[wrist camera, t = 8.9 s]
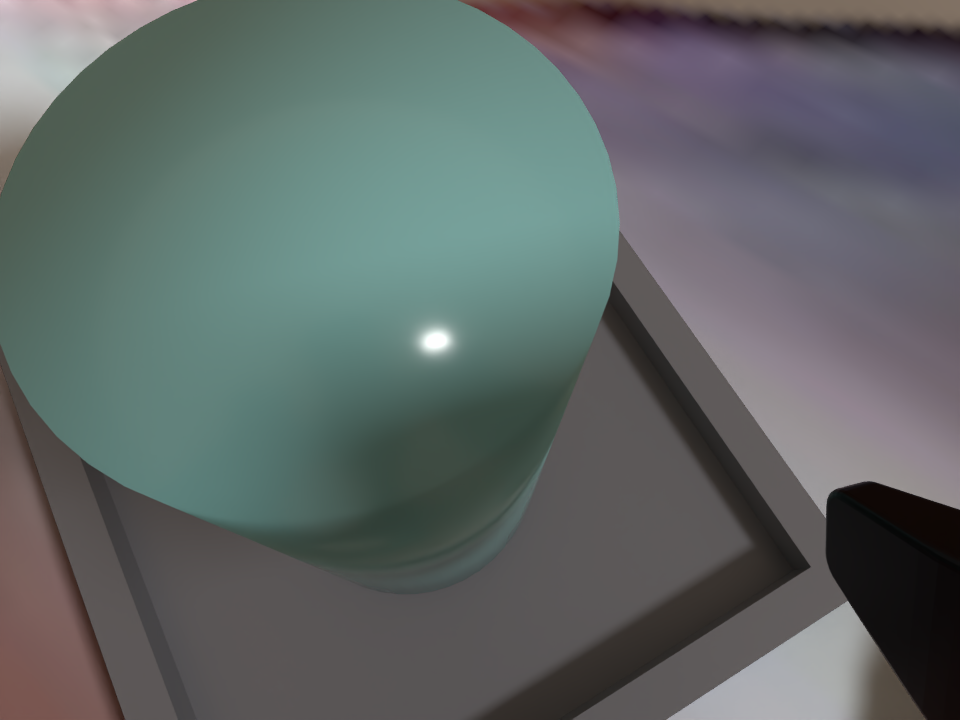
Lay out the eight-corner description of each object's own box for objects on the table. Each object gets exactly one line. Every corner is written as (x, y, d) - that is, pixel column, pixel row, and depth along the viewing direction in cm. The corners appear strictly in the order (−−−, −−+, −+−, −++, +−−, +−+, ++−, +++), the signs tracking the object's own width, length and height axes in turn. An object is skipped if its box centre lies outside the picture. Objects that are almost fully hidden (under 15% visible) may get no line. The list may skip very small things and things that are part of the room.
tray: (840, 587, 18) (873, 584, 17) (250, 971, 15) (226, 1007, 14) (519, 128, 23) (521, 94, 22) (26, 358, 20) (-9, 337, 19)
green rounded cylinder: (510, 618, 17) (573, 587, 6) (253, 566, 18) (-130, 449, 7) (551, 371, 20) (650, 18, 8) (321, 330, 20) (123, -59, 9)
